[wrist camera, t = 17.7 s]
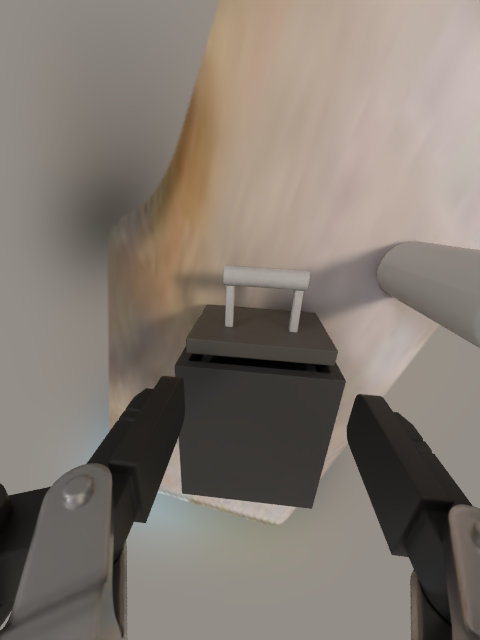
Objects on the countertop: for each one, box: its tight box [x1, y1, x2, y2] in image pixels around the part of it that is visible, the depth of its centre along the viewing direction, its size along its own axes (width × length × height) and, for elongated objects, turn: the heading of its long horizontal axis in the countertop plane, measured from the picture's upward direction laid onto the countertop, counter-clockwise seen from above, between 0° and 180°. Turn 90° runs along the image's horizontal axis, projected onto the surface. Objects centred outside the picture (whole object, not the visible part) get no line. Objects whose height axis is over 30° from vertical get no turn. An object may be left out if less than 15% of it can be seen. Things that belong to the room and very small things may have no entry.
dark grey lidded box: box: [175, 347, 346, 508], centre depth 23 cm, size 14×12×9 cm
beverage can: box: [377, 241, 480, 348], centre depth 16 cm, size 5×5×12 cm
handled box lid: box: [186, 265, 338, 372], centre depth 22 cm, size 17×10×7 cm, turn 177°
